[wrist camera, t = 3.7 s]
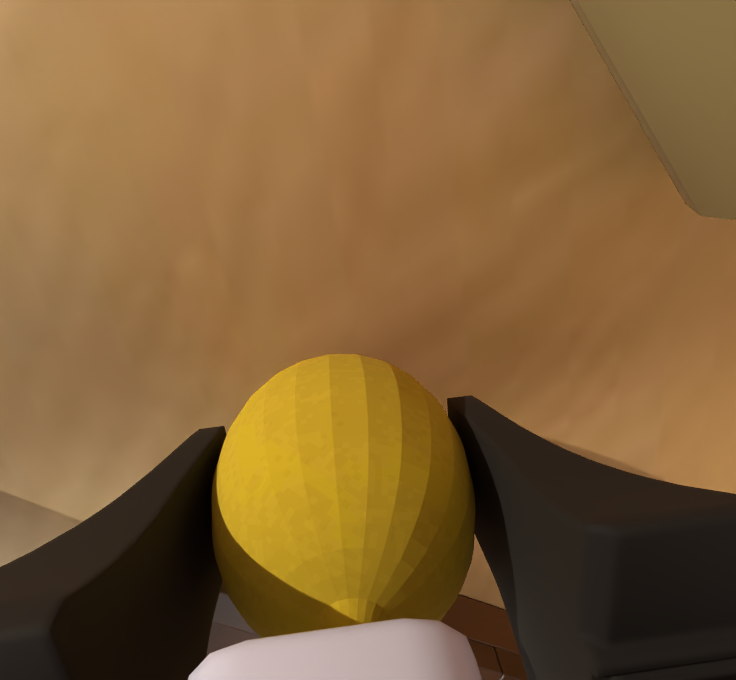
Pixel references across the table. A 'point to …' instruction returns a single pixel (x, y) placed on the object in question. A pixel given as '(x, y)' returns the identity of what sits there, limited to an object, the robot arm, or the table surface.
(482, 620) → the tray
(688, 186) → the cork
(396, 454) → the lemon
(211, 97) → the table surface
